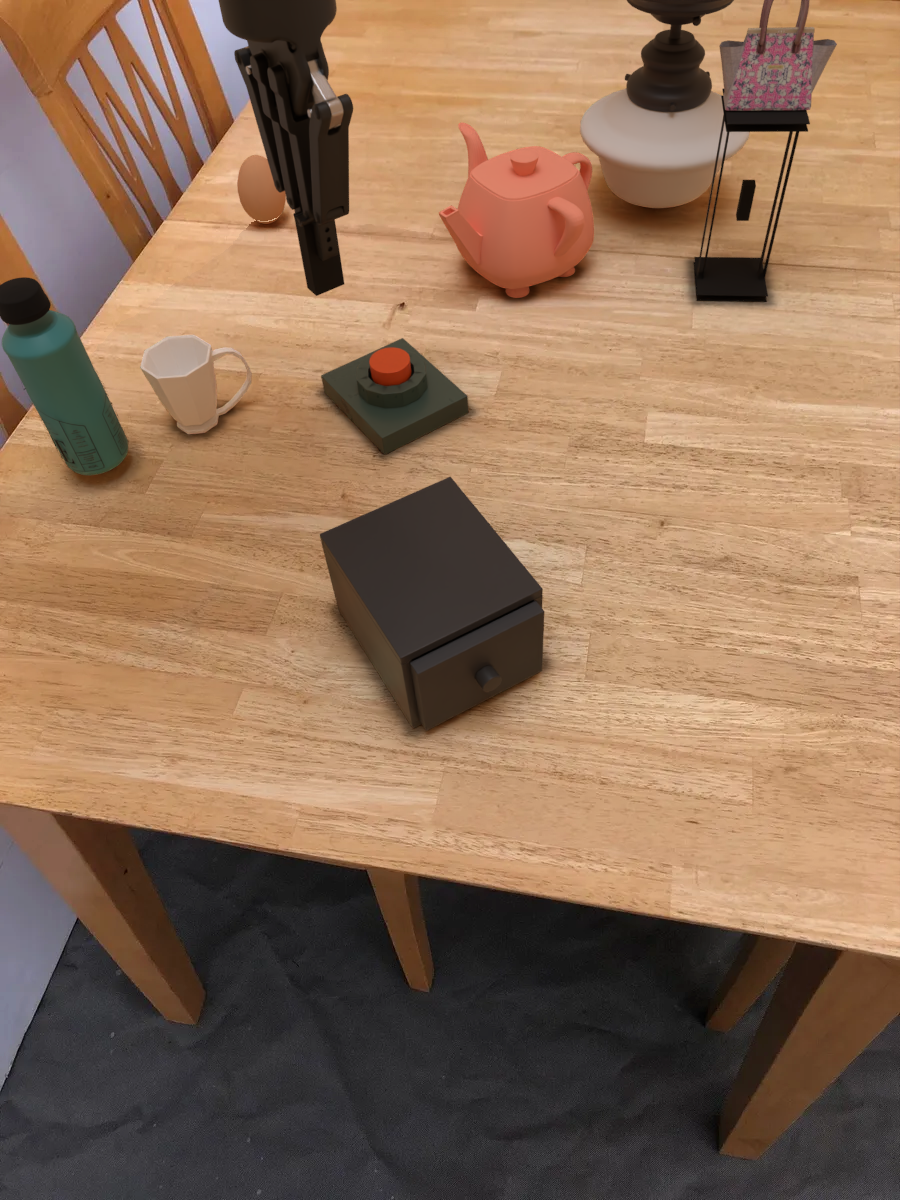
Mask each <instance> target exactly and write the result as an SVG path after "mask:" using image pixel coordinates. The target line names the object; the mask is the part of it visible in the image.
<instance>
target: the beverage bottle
mask: <svg viewBox="0 0 900 1200" xmlns="http://www.w3.org/2000/svg"><path fill="white" fill-rule="evenodd" d="M0 319H1V322H3V323H5V324H7V327H6V329H5V331H4V333H3V334H2V337H1V347H2V350H3V352H4V353H5V355H7V358H8V359H9V361H10V363H11V365H12V366H13V369H14V370H15V372H16V374H17V376H18V377H19V379H20V382H21V384H22V386H23V387H24V388H23V391H25V392H26V393H27V395H28V397H29V402H30V403H32V405H33V406H34V408H35V411H36V415H37V416H38V418H40V422H41V423H42V424H43V427H44V429H45V431H47V432H46V434H47V435H48V437H50V440H51V442H52V445H53V446H54V447H55V450H56V451H57V454H58V455H59V456H60V458H61V460H63V464H64V465H66V467H67V468H68V469H70V470H71V471H73V472H74V473H76V474H79V475H81V476H96V475H101V474H105V473H107V472H109V471H111V470H113V469H115V468H117V467H118V466H119V465H120V464H121V463H122V462H123V461H124V460H125V458H126V457H127V455H128V452H129V438H127V434H126V430H125V427H123V426H122V424H121V421H120V420H119V419H120V417H119V415H118V414H117V412H116V410H115V409H116V407H115V406H113V402H112V401H111V400H110V399H109V398H110V395H109V393H108V392H107V389H106V386H105V384H104V383H103V382H102V381H101V380H102V379H101V378H100V376H99V374H98V372H97V370H96V368H95V366H94V365H93V362H92V361H91V359H90V356H89V354H88V352H87V349H86V347H85V346H84V344H83V341H82V339H81V336H80V334H79V333H78V330H77V326H76V324H75V322H74V321H73V319H72V318H70V316H68V315H67V314H64V313H62V312H59V311H55V310H52V309H51V301H50V298H49V297H48V295H47V294H46V292H45V291H44V289H43V287H42V285H41V284H40V282H38V280H36V279H35V278H32V277H15V278H12V279H9V280H6V281H3V283H1V284H0Z"/></svg>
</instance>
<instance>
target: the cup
mask: <svg viewBox="0 0 900 1200" xmlns="http://www.w3.org/2000/svg"><path fill="white" fill-rule="evenodd" d="M226 355H232V356H233V357H236V358H237V359H239V360H241V361H242V363H243V365H244V367H245V370H246V375H245V376H246V377H245V380H244V382H243V384H242V385H241V386H240V388H239V389H238V390H237V392H236V393H235V394H234V395H233V396H232V398H231V399H229V401H227V402H226V403H225V404H224V405H223V406H221V407H217V406H218V385H217V378H216V371H215V363H214V362H216V361H217V360H219V359H221V358H222V357H225V356H226ZM139 369H140V370H141V372H142V373H143V375H144V377H145V378H146V380H147V381H148V383H149V385H150V386H151V388H152V390H153V392H154V393H155V395H156V396H157V399H158V400H159V402H160V403H161V405H162V406H163V408H165V410H166V412H168V414H169V415H170V416H171V417H172V419H173V420H175V421H176V427H177V428H178V429H179V430H181V431H182V432H184V434H185V433H186V434H187V435H196V434H206V433H207V432H208V431H209V430H210V431H211V429H213V428H214V427H216V426H217V425H218V422H219V416H223V415H225V414H227V413H228V412H229V411H231V409H233V408H234V407H235V406H236V405H237V404H238V403H239V402H240V401H241V399H242V398H243V397H244V396H245V394H246V393H247V392H248V390H249V388H250V386H251V385H252V376H253V373H252V371H251V368H250V365H249V364H248V361H247V360H246V359H245V357H244V355H243V354H242V353H241V351H239V350H236V349H235V348H234V347H230V346H229V347H227V346H223V347H220V348H215V349H212V344H210V343H209V342H207V341H206V340H204V339H202V338H201V337H199V336H197V335H196V334H182V335H170V336H169V335H167V336H165V337H163V338H161V339H160V340H159V341H156V343H154V344H152V345H150V346H149V347H147V348H145V349H144V351H143V355H142V357H141V362H140V367H139Z"/></svg>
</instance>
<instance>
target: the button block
mask: <svg viewBox="0 0 900 1200" xmlns="http://www.w3.org/2000/svg"><path fill="white" fill-rule="evenodd" d="M391 347H393V348H400V349H402V350H404V351H406V352H407V353H408V354H409V356H410V363H411V377H410V378H409V380H408V381H406V382H404V383H402V384H400V385H393V386H383V385H380V384H376V383H375V382H374V381H373V380H372V377H371V370H370V364H369V360H370V358H371V356H372V355H373V354H374V353H375V352H377V351H378V350H381V349H384V348H391ZM320 377H321V382H322V387H323V392H324V393H325V395H326V396H328V397H329V399H330V400H331V401H332V402H333V403H334V404H335V405H336V406H337V407H338V408H339V409H340V410H341V411H342V412H343V413H344V415H345V416H347V418H349V420H350V421H351V422H353V424H354V425H355V426H356V427H357V428H358V429H359V430H360V431H361V432H362V433H363V434H364V435H365V436H366V437H367V438H368V439H369V440H370V441H371V443H373V444H374V445H375V447H377V449H378V450H379V451H380V452H381V453H382V454H383V455H388V454H389V453H391V452H394V451H395V450H398V449H400V448H402V447H403V446H405V445H407V444H409V443H412V442H413V441H415V440H417V439H419V438H421V437H423V436H426V435H427V434H429V433H431V432H434V431H436V430H437V429H439V428H442V427H443V426H445V425H447V424H449V423H451V422H454V421H455V420H457V419H459V418H461V417H463V416H465V415H467V414H468V413H469V397H468V395H467V394H466V393H465V391H463V390H462V389H461V388H460V387H458V386H457V385H456V384H455V383H454V382H453V381H452V380H451V379H449V378H448V377H447V376H446V375H445V374H444V373H443V372H441V370H439V369H438V367H436V366H435V365H434V364H433V363H432V362H431V361H430V360H428V359H427V357H425V356H424V355H423V354H421V352H419V350H417V349H416V348H415V347H413V345H412V344H410V343H409V342H408V341H407V340H406V339H404V338H403V337H401V338H399V339H397V340H395V341H392V342H390V343H388V344H386V345H384V346H382V347H379V348H378V349H376V350H373V351H371V352H369V353H367V354H365V355H362V356H360V357H358V358H356V359H354V360H351V361H349V362H347V363H345V364H343V365H341V366H338V367H336V368H334V369H332V370H330V371H327V372H325V373H323V374H321V375H320Z"/></svg>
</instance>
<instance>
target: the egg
mask: <svg viewBox="0 0 900 1200" xmlns="http://www.w3.org/2000/svg"><path fill="white" fill-rule="evenodd" d="M237 175H238V176H237V182H236V183H237V187H236V188H237V195H238V198H239V202H240V204H241V206H242V209H243V210H244V212H245V213H246V214H247V215H248V216H249V217H250V218H251V219H252V220H254V219H255V220H260V221H268V220H272V219H274V218H277V217H278V216H279V215H280V216H279V217H278V218H277V219H275V220H273V221H269V222H259V221H256V222H257V223H259V224H262V225H265V224H268V225H269V224H272V223H274V222H276V221H277V220H278V219H279V218H280V217H281V215H282V214H281V213H283V212H284V209H285V206H286V202H287V200H286V194H285V191H283V192H281V193H280V192H278V191H277V189H276V187H275V185H274V181H273V177H272V174H271V170H270V167H269V164H268V160H267V157H264V156H262V155H259V154H254V155H249V156H248V157H247V158H246V159H244V160H243V162H242V163H241V165H240V167H239V171H238V174H237ZM255 220H254V221H255Z"/></svg>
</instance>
